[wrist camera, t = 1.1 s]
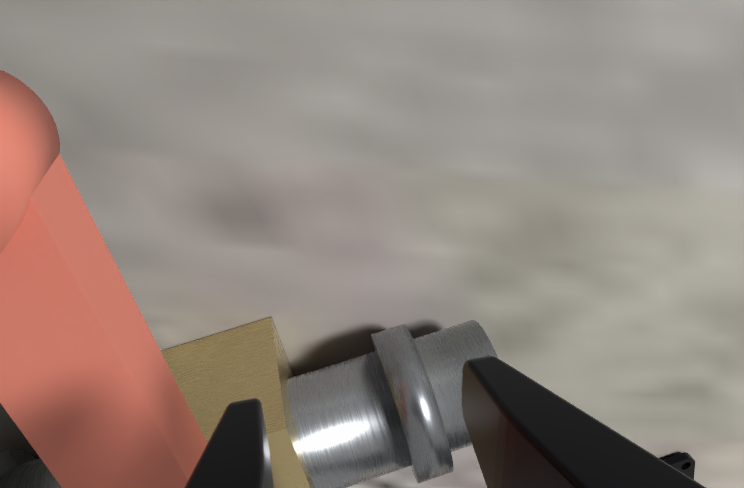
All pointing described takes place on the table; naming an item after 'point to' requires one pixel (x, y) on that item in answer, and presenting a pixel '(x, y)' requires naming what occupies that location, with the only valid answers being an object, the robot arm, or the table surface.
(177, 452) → the lever
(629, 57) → the table surface
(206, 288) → the table surface
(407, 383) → the pipe valve
